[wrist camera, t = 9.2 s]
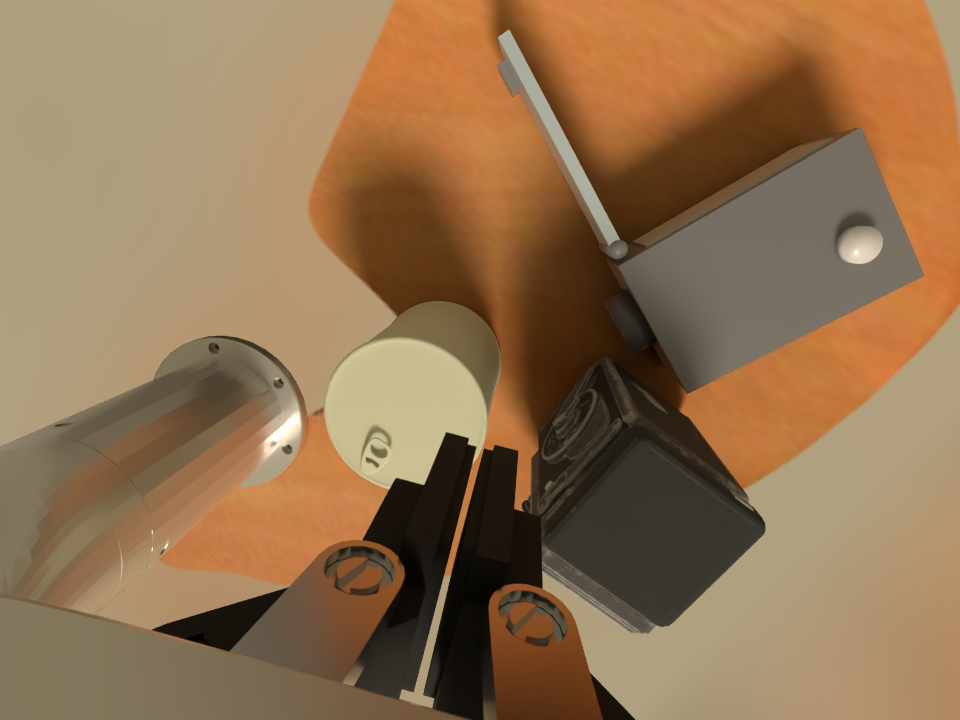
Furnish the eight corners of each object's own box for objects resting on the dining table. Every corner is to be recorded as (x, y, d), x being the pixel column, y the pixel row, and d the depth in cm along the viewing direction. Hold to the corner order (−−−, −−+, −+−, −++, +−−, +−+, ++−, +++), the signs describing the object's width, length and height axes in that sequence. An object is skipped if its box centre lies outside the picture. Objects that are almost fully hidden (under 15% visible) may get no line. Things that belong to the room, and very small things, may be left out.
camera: (503, 444, 41) (486, 570, 26) (591, 340, 38) (625, 417, 23) (608, 520, 42) (646, 681, 27) (701, 423, 39) (799, 547, 24)
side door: (617, 247, 36) (631, 252, 30) (597, 258, 36) (607, 266, 31) (515, 55, 33) (512, 27, 28) (495, 69, 33) (488, 44, 28)
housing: (644, 376, 38) (666, 410, 32) (583, 268, 36) (593, 280, 30) (859, 265, 35) (935, 277, 28) (803, 140, 33) (869, 121, 26)
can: (359, 373, 40) (289, 436, 29) (423, 275, 38) (373, 302, 26) (457, 439, 41) (426, 527, 30) (526, 348, 38) (522, 405, 27)
